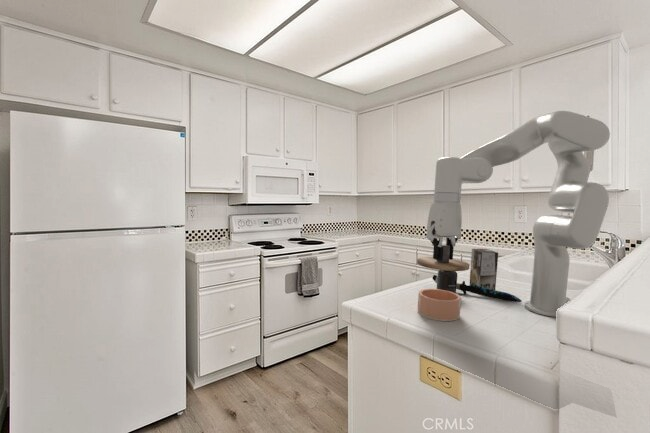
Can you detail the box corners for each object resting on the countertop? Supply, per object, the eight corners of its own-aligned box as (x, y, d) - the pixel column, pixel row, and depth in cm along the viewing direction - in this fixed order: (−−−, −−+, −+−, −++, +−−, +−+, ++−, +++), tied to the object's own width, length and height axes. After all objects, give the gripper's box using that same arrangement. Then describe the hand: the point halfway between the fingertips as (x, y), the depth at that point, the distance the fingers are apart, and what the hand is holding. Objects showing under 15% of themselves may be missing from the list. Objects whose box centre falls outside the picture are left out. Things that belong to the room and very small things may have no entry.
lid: (441, 258, 110) (442, 241, 109) (480, 269, 96) (482, 248, 96) (406, 261, 103) (407, 242, 102) (443, 272, 89) (445, 251, 89)
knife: (430, 285, 127) (432, 274, 127) (432, 283, 130) (434, 272, 129) (520, 310, 112) (522, 298, 112) (520, 308, 115) (522, 296, 114)
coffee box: (495, 295, 123) (499, 252, 121) (478, 294, 123) (481, 252, 121) (484, 287, 132) (487, 248, 130) (468, 287, 132) (471, 247, 131)
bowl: (438, 304, 109) (439, 287, 109) (467, 318, 98) (469, 298, 98) (410, 309, 104) (411, 291, 103) (438, 323, 93) (439, 303, 92)
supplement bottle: (452, 299, 115) (455, 266, 114) (433, 295, 119) (435, 263, 119) (458, 295, 121) (460, 263, 120) (439, 291, 125) (441, 260, 124)
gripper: (456, 199, 105) (452, 255, 106) (417, 197, 98) (413, 258, 99) (476, 200, 98) (472, 260, 100) (436, 198, 91) (431, 263, 92)
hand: (442, 258), depth 99 cm, fingers closed on lid, 3 cm apart
